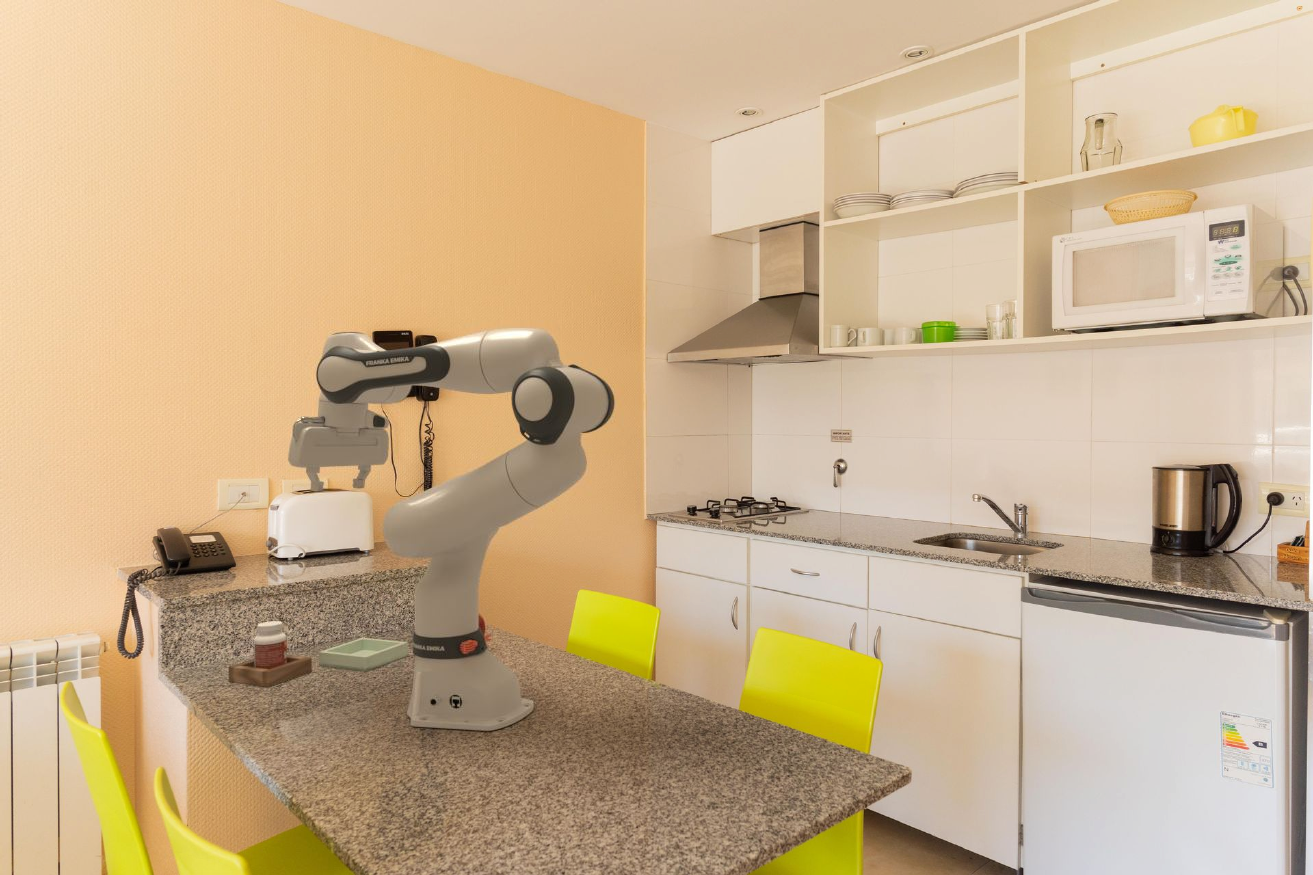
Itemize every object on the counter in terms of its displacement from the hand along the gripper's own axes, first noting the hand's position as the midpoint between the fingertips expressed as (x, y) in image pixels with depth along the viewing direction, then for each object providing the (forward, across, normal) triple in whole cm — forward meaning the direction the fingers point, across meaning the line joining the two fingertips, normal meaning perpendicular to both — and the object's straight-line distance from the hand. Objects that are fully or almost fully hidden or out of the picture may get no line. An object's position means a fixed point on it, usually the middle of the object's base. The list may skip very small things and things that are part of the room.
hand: (338, 489), depth 155 cm
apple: (+39, +33, -5) cm, 51 cm away
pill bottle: (+42, +1, +19) cm, 46 cm away
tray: (+40, +18, +11) cm, 46 cm away
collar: (+42, +1, +19) cm, 46 cm away
